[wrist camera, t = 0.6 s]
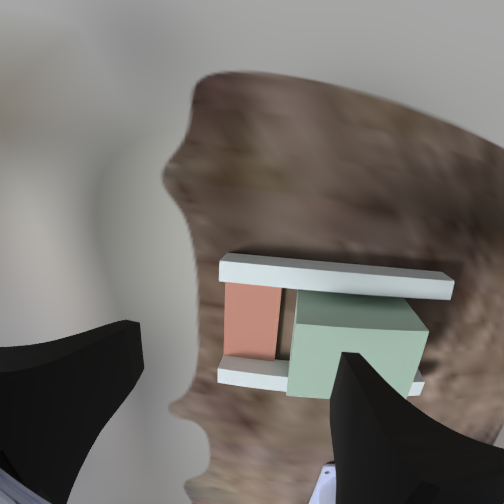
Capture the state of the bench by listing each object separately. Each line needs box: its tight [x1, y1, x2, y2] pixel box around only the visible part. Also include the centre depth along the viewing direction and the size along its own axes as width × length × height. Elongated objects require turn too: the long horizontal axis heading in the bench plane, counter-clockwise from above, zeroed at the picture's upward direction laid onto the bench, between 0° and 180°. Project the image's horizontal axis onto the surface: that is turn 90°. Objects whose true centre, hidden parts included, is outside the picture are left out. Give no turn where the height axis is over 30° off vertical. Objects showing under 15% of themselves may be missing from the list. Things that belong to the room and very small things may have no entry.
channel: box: [218, 253, 455, 396], centre depth 19 cm, size 8×14×2 cm, turn 87°
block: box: [286, 290, 429, 399], centre depth 17 cm, size 4×7×5 cm, turn 87°
